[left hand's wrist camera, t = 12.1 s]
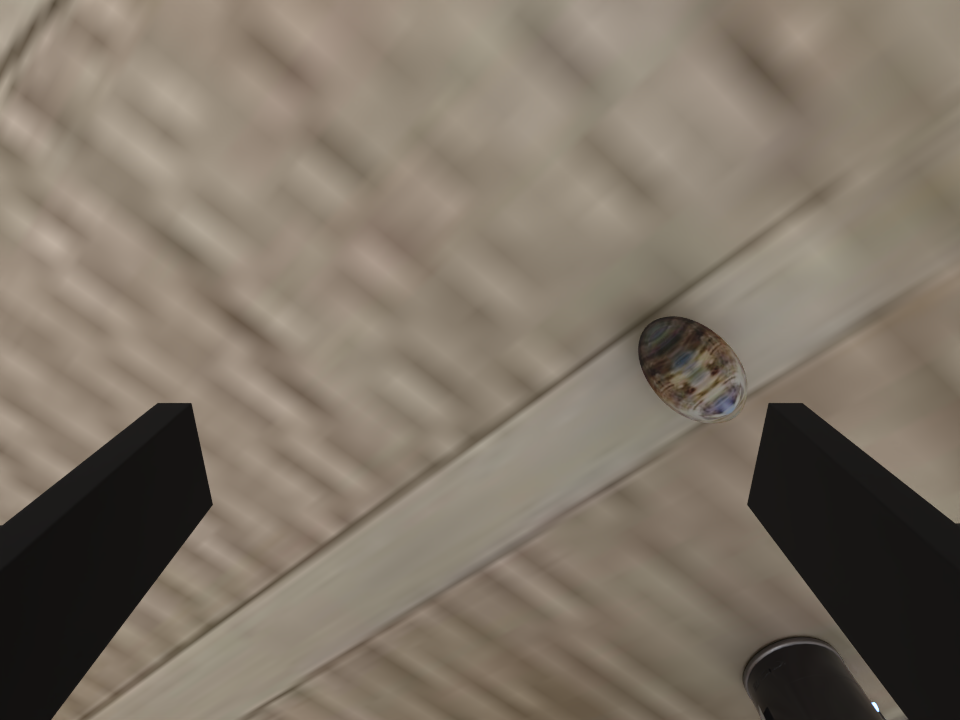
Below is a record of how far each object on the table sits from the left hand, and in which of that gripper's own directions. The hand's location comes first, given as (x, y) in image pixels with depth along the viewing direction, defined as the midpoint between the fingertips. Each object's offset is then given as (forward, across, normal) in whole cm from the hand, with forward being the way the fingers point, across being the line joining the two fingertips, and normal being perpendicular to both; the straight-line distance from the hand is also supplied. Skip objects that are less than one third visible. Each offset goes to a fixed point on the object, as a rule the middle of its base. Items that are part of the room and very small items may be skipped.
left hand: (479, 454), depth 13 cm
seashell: (+28, +15, -8) cm, 32 cm away
